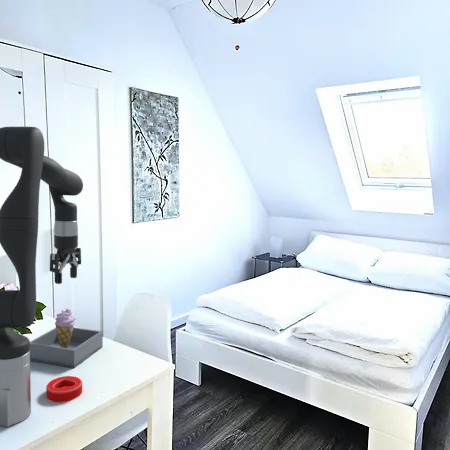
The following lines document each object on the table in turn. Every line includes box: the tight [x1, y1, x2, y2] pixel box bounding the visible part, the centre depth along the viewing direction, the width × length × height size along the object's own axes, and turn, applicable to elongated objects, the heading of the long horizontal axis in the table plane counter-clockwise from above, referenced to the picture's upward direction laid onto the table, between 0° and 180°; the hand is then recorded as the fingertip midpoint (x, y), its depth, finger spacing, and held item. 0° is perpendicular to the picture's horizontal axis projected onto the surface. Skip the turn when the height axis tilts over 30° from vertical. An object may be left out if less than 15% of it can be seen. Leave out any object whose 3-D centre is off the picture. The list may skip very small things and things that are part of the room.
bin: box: [29, 327, 104, 369], centre depth 147 cm, size 18×18×6 cm
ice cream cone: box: [54, 308, 77, 348], centre depth 145 cm, size 7×6×15 cm
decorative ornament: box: [45, 375, 83, 403], centre depth 121 cm, size 10×10×3 cm
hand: (66, 280), depth 144 cm, fingers open, 8 cm apart
